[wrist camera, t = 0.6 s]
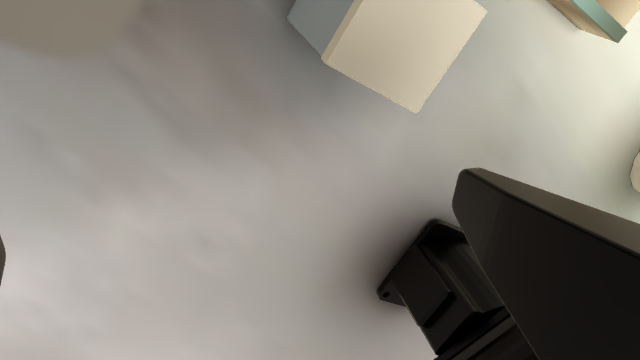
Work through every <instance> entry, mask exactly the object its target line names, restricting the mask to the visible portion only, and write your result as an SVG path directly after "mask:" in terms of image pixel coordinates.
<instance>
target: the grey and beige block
mask: <svg viewBox="0 0 640 360" xmlns="http://www.w3.org/2000/svg"><path fill="white" fill-rule="evenodd" d="M487 12H488V11H487V10H485V9H484V8H483V7H481V6H480V5H479V4H478V3H476V2H475V1H474V0H296V2H295V4H294V5H293V7H292V9H291V11H290V13H289V15H288V16H287V18H286V19H287V20H288V21H289V22H290V23H291V24H292V25H293V26H294V27H295V29H296V30H297V31H298V32H299V33H300V34H301V35H302V36H303V37H304V38H305V39H306V40H307V42H308V43H309V44H310V45H311V46H312V47H313V48H314V49H315V50H316V51H317V52H318V53H319V55H320V56H321V60H322V61H323V62H324V63H325V64H326V65H328V66H330V67H332V68H334V69H336V70H337V71H339V72H341V73H343V74H345V75H346V76H348V77H350V78H352V79H354V80H355V81H357V82H359V83H361V84H363V85H365V86H366V87H368V88H370V89H372V90H374V91H375V92H377V93H379V94H381V95H383V96H384V97H386V98H388V99H390V100H392V101H394V102H395V103H397V104H399V105H401V106H403V107H404V108H406V109H408V110H410V111H412V112H413V113H415V114H417V113H418V111H419V110H420V108H421V107H422V106H423V104H424V103H425V101H426V100H427V98H428V97H429V95H430V94H431V93H432V91H433V90H434V88H435V87H436V85H437V84H438V82H439V81H440V80H441V78H442V77H443V75H444V74H445V72H446V71H447V70H448V68H449V67H450V65H451V64H452V62H453V61H454V59H455V58H456V57H457V55H458V54H459V52H460V51H461V49H462V48H463V46H464V45H465V44H466V42H467V41H468V39H469V38H470V36H471V35H472V33H473V32H474V31H475V29H476V28H477V26H478V25H479V23H480V22H481V20H482V19H483V18H484V16H485V15H486V13H487Z"/></svg>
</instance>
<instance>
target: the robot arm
mask: <svg viewBox="0 0 640 360" xmlns="http://www.w3.org/2000/svg"><path fill="white" fill-rule="evenodd" d="M452 208H453V211H454V214H455V216H456V218H457V220H458V222H459V224H460V226H461V228H462V229H459V228H457V227H454V226H452V225H450V224H447V223H445V222H442V221H440V220H433V221H431V222H430V223H429V224H428V225H427V226H426V228H425V229H424V230H423V232H422V233H421V234H420V235H419V237H418V238H417V239H416V241H415V242H414V243H413V244H412V246H411V247H410V248H409V250H408V251H407V252H406V253H405V255H404V256H403V257H402V259H401V260H400V261H399V262H398V264H397V265H396V266H395V268H394V269H393V270H392V271H391V273H390V274H389V275H388V277H387V278H386V279H385V281H384V282H383V283H382V284H381V286H380V287H379V288H378V290H377V294H378V296H379V298H380V299H381V300H383V301H387V302H390V303H394V304H398V305H402V306H405V307H407V308H408V310H409V312H410V314H411V315H412V317H413V319H414V321H415V322H416V324H417V325H418V326H419V327H420V328H421V330H422V332H423V334H424V335H425V337H426V339H427V340H428V342H429V344H430V346H431V347H432V349H433V351H434V353H435V354H436V355H438V357H436V358H435V359H434V360H640V224H638V223H635V222H633V221H630V220H627V219H624V218H621V217H618V216H616V215H613V214H610V213H607V212H604V211H601V210H599V209H596V208H593V207H590V206H587V205H584V204H582V203H579V202H576V201H573V200H570V199H567V198H565V197H562V196H559V195H556V194H553V193H550V192H547V191H545V190H542V189H539V188H536V187H533V186H530V185H528V184H525V183H522V182H519V181H516V180H513V179H511V178H508V177H505V176H502V175H499V174H496V173H494V172H491V171H488V170H485V169H482V168H469V169H463V170H462V171H461V172H460V173H459V176H458V180H457V184H456V188H455V192H454V196H453V200H452ZM436 227H437V228H436ZM435 228H436V229H435ZM5 260H6V253H5V248H4V244H3V242H2V239H1V236H0V285H1V280H2V275H3V270H4V266H5Z"/></svg>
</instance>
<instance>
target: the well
mask: <svg viewBox="0 0 640 360" xmlns="http://www.w3.org/2000/svg"><path fill="white" fill-rule="evenodd" d="M548 1H549V2H550V3H551V4H552V5H553V6H554V7H555V8H557V9H558V10H559V11H560V12H561V13H562V14H563V15H564V16H566V17H567V18H568V19H569V20H570V21H571V22H572V23H573V24H575V25H576V26H577V27H578V28H579V29H580V30H583V31H586V32H589V33H592V34H594V35H597V36H600V37H603V38H606V39H609V40H611V41H614V42H617V43H619V41H620V40H621V39H622V38H623V36H624V35H625V34H626V33H627V31H626V30H625V29H624V27H625V26H626V25H627V24H628V22H629V21H630V20H631V19H632V17H633V16H634V15H635V14H636V13H637V11H638V10H639V9H640V0H548Z"/></svg>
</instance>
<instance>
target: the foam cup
mask: <svg viewBox="0 0 640 360" xmlns="http://www.w3.org/2000/svg"><path fill="white" fill-rule="evenodd" d="M630 178H631V182H632V185H633V189H635V190H637V191H638V192H639V193H640V151H639V153H638V154H637V156H636V157H635V159H634V163H633V166H632V170H631V174H630Z"/></svg>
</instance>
